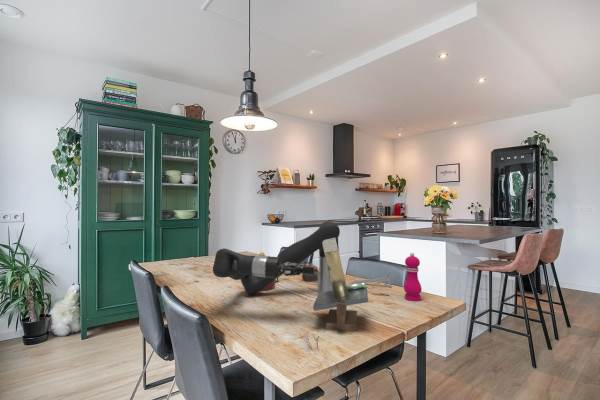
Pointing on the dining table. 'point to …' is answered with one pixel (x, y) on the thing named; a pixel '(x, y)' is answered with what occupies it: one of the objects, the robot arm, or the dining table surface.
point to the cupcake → (310, 276)
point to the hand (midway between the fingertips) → (313, 270)
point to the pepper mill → (412, 279)
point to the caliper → (376, 280)
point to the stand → (342, 319)
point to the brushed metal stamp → (338, 282)
